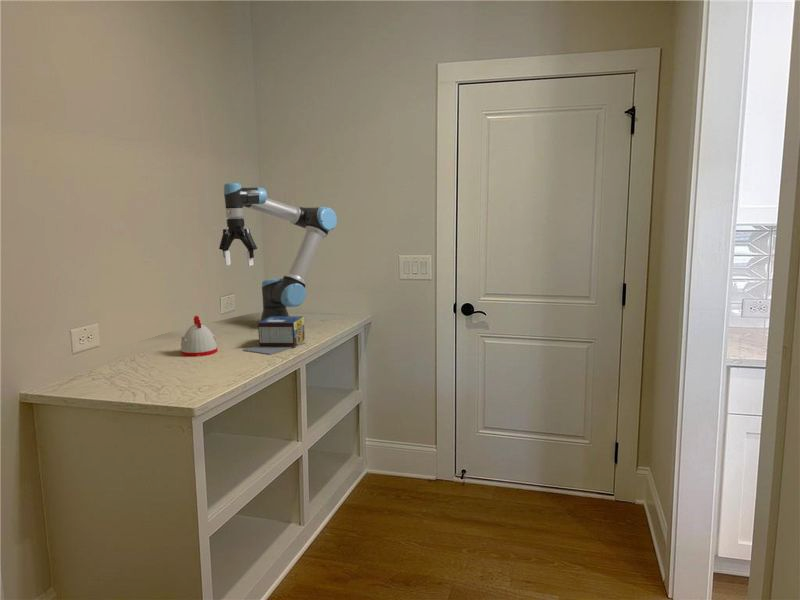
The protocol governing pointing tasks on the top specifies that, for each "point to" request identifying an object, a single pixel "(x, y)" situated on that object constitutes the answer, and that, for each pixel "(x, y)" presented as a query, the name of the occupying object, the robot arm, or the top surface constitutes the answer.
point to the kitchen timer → (198, 341)
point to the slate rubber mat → (269, 349)
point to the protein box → (281, 331)
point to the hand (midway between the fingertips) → (239, 265)
